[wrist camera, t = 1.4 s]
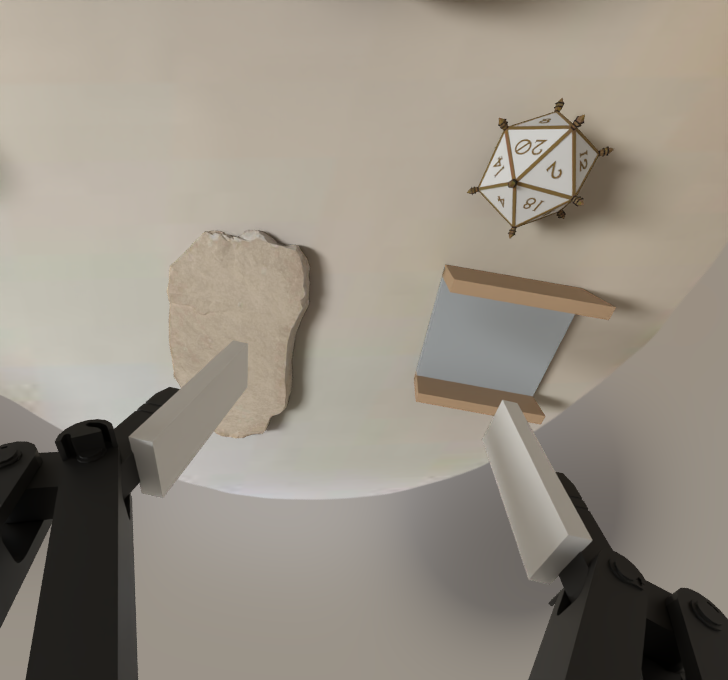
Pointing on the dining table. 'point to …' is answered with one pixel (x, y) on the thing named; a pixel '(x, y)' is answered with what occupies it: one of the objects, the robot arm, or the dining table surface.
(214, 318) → the stone tablet
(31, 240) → the dining table surface
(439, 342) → the track
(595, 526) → the robot arm
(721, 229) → the dining table surface
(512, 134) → the game die
